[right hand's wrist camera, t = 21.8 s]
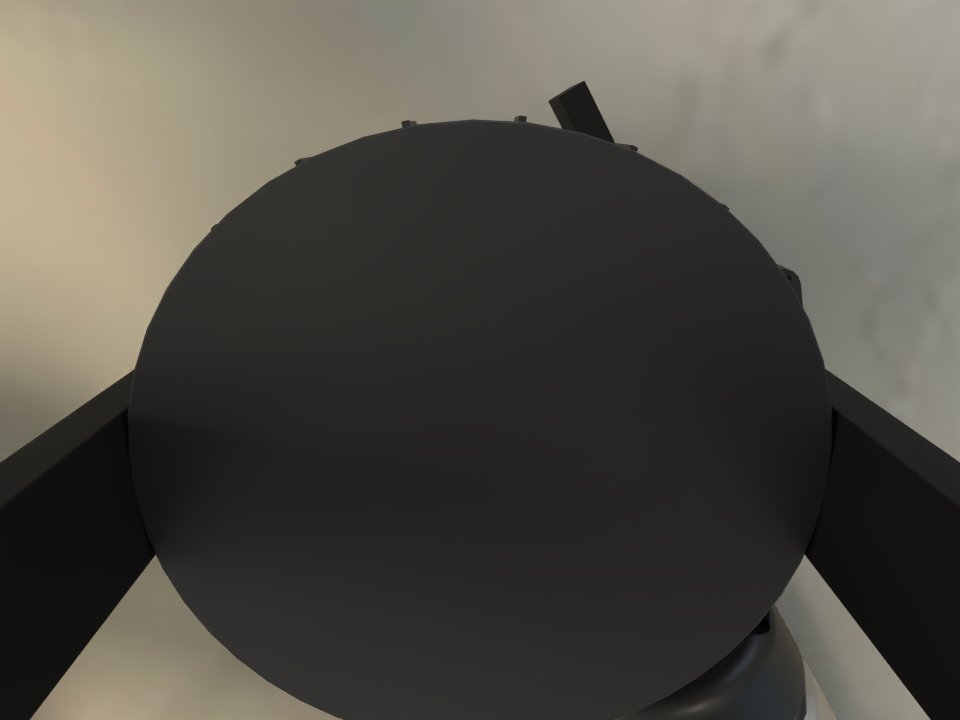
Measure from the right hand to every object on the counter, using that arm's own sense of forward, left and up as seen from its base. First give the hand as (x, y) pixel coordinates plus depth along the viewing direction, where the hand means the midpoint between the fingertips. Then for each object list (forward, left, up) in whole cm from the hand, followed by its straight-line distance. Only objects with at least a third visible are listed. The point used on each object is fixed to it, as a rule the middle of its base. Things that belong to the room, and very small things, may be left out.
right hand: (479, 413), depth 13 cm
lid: (0, 0, +3) cm, 3 cm away
